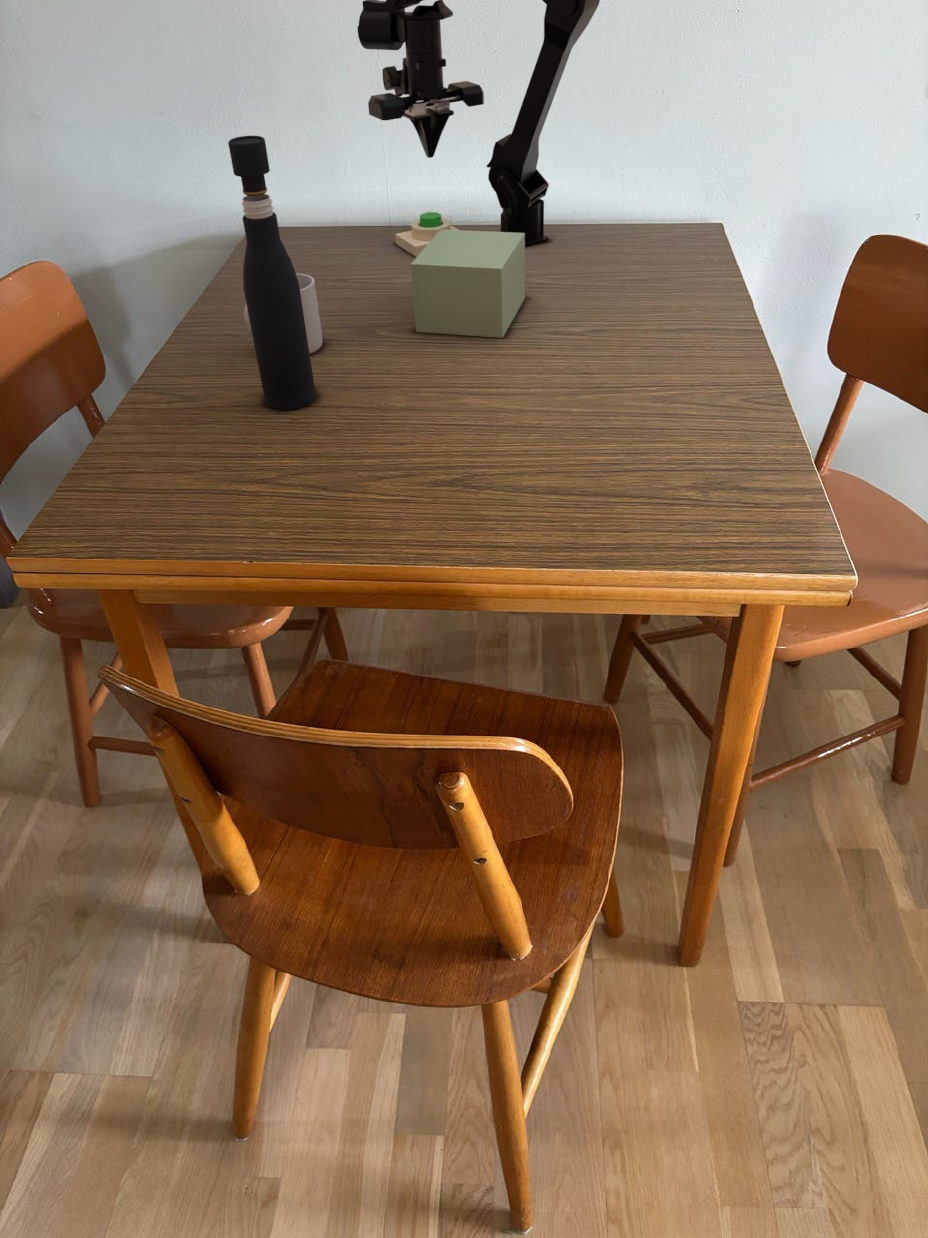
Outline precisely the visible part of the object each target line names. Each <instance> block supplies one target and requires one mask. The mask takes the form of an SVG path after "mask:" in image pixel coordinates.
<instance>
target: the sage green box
mask: <svg viewBox="0 0 928 1238" xmlns="http://www.w3.org/2000/svg"><path fill="white" fill-rule="evenodd" d="M525 262H526V246H525V233H513V232H501V231H487V230H464V229H458V230H443V229H441V230H440V231H439V232H438V233H437V234H436V235H435V237H434V238H433V239H432V240H431V241H430V242H429V244H428V245H427V246H426V247H425V248H424V249H423V251H422V252H421V253H420V254H419V255H418V256H417V257H415V258H414V260H413V261H412V262H411V263H410V270H411V271H410V272H411V283H412V297H413V311H414V323H415V332H416V333H426V334H437V335H438V334H439V335H454V336H455V335H456V336H468V337H469V336H470V337H483V338H484V337H485V338H486V337H487V338H497V339H503V338H504V336H505V334H506V333H507V331H508V329H509V327H510V326H511V324H512V322H513V320H514V319H515V317H516V315H517V313H518V312H519V309H520V308H521V306H522V304H523V303H524V301H525V299H526V263H525Z"/></svg>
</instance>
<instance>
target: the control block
mask: <svg viewBox="0 0 928 1238" xmlns="http://www.w3.org/2000/svg"><path fill="white" fill-rule="evenodd" d="M441 223H442V225H441V226H438V227H433V228H425V227H421V226H420V218H419V219H417V220H414V221H413V222H411V226H410V227H411V230H408V231H403V232H398V233H395V234H394V237H395V244H396V246H399V247H400V248H402V249H403V250H405V251H406V252H408V253H409V254H410V255H412V256H414V257H415V258H416V257H417V256H418V255H419V254H420V253H421V252H422V251H423V249H424V248H425V247H426V246H427V245H428V244H429V242H430V241H431V240H432V239H433V238H434V237H435V235H436V234H437V233H438V232H439V231H440V230H441V229H443V230H459V229H458V228H456V227H455V226H453V225H451V221H450V220H448V219H447V218H443V217H441Z"/></svg>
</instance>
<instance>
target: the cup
mask: <svg viewBox="0 0 928 1238" xmlns="http://www.w3.org/2000/svg"><path fill="white" fill-rule="evenodd" d="M296 276H297V279H298V282H299V287H300V294H301V300H302V307H303V314H304V320H305V327H306V333H307V340H308V346H309V353H310V355H311V354H314V353H316V352H317V351H319V350H320V349H321V347H322V346H323V343H324V342H323V331H322V325H321V318H320V317H321V316H320V311H319V304H318V303H319V302H318V297H317V290H316V282H315V278H314V277H313V276H311V275H309V274H306V273H305V274H304V273H296ZM243 311H244V312H243V318H244V323H245V326H246V329H247V331H248V332H249V334H250V335H251V336H252V330H251V325H250V320H249V315H248V309H247V304H246V303H245V306H244V309H243Z"/></svg>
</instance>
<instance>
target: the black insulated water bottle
mask: <svg viewBox="0 0 928 1238" xmlns="http://www.w3.org/2000/svg"><path fill="white" fill-rule="evenodd" d="M227 144H228V149H229V155H230V160H231V166H232V171H233V175H234V176H235V177H240V180H241V185H242V194H244V195H245V196H244V197H242V202H241V205H242V207H243V210H242V212H243V213H244V215H243V216H242V223H243V228H244V234H245V239H246V240H245V241H246V244H245V250H244V251H245V252H244V257H243V258H244V259H243V269H242V275H243V276H242V284H243V285H242V287H243V294H244V299H245V305H246V304H247V309H248V315H249V320H250V325H251V330H252V335H251V336H252V340H253V341H252V342H253V345H254V351H255V356H256V361H257V367H258V372H259V378H260V383H261V387H262V393H263V399H264V402H265V405H266V406H268V407H269V408H271V409H273V410H278V411H293V410H297V409H298V410H299V409H302V408H304V407H307V406H309V405H310V404H312V403H313V402H314V401H315V400H316V397H317V393H316V387H315V386H316V385H315V380H314V374H313V368H312V367H313V366H312V360H311V354H310V353H309V346H308V340H307V333H306V327H305V320H304V314H303V307H302V300H301V294H300V287H299V282H298V279H297V276H296V274H297V273H296V270H295V267H294V265H293V262H292V259H291V257H290V256H289V254H288V253H289V252H288V251H287V249H286V247H285V245H284V244H283V242H282V239H281V236H280V235H281V234H280V229H279V224H278V216H277V213H276V212H275V211H273V210H274V206H273V205H272V203H273V200H272V199H271V195H269V194H267V192H268V187H267V184H266V179H265V175H266V174H269V173H270V171H271V170H270V164H269V163H270V162H269V158H268V157H269V156H268V151H267V144H266V139H265V137H263V136H261V135H242V136H237V137H234V138H231V139H229V141H228V142H227Z"/></svg>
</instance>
